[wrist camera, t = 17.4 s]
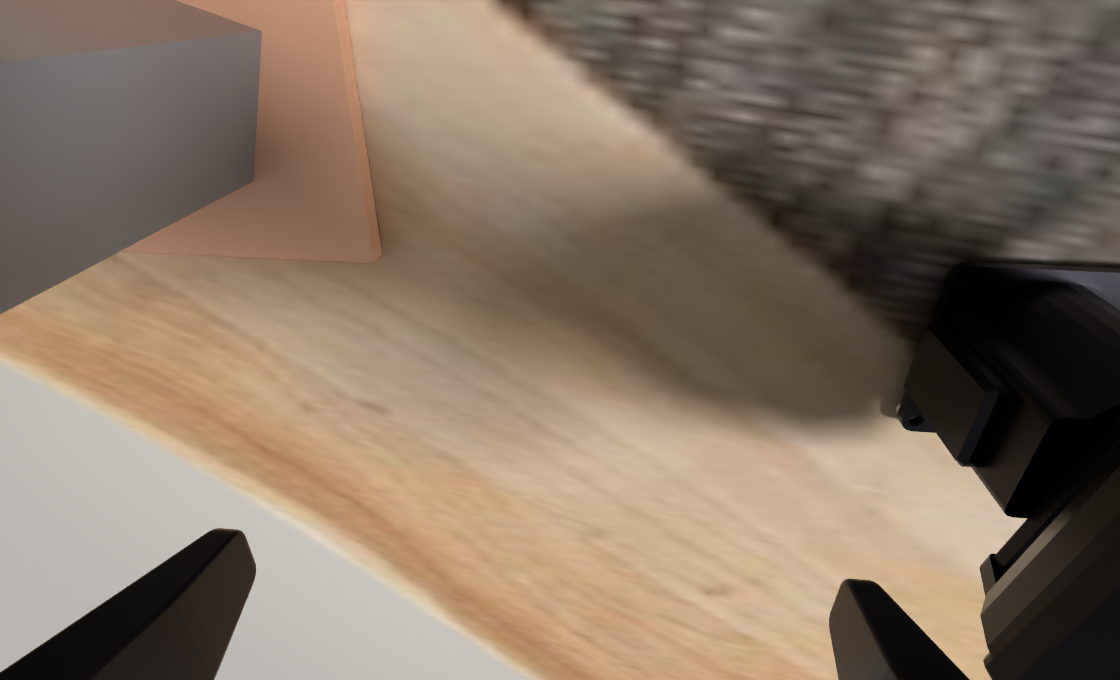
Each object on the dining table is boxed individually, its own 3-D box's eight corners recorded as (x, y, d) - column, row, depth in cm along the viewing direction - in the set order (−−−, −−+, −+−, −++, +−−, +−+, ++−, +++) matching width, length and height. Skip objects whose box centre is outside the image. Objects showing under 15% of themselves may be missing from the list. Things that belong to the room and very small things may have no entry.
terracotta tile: (322, -148, 15) (308, -154, 15) (382, 254, 21) (374, 263, 20) (-39, -146, 16) (-68, -153, 15) (111, 241, 22) (94, 250, 21)
